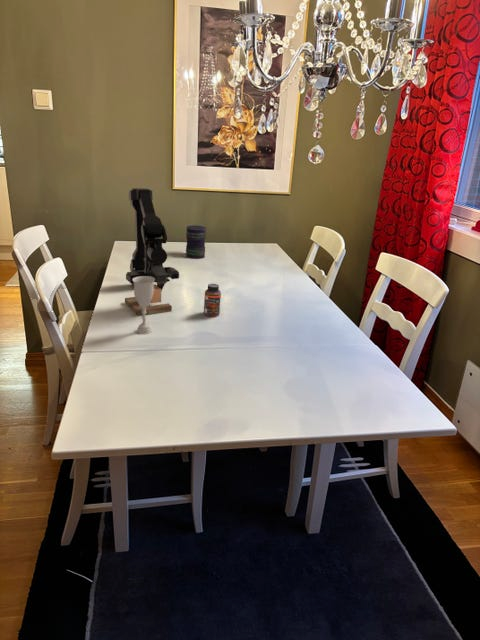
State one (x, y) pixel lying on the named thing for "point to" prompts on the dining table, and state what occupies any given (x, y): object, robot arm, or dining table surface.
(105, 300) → the dining table surface
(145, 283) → the chalice
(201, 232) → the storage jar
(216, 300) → the supplement bottle
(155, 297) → the block
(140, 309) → the notched board
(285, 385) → the dining table surface
